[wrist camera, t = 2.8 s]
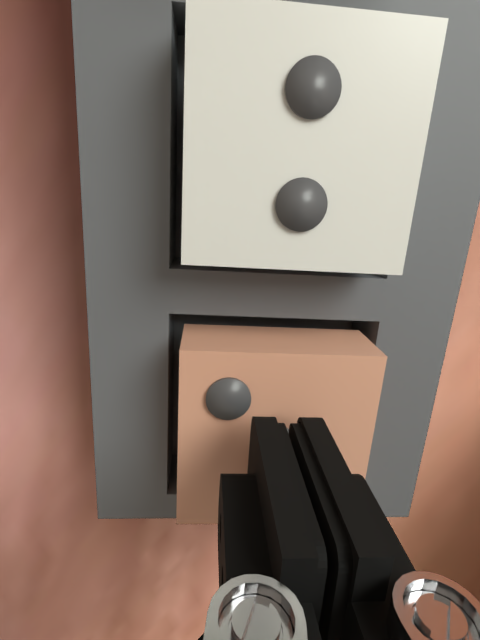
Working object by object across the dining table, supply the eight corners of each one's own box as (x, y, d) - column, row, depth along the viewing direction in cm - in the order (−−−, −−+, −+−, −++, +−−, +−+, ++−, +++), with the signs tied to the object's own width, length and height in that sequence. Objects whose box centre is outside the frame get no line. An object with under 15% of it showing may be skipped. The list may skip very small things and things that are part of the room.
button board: (91, -370, 9) (39, -626, 6) (512, -294, 10) (634, -489, 7) (118, 458, 15) (98, 518, 13) (373, 460, 16) (408, 516, 14)
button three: (184, 323, 11) (179, 352, 9) (358, 330, 12) (389, 358, 10) (181, 474, 13) (176, 527, 11) (336, 475, 13) (358, 525, 11)
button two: (190, 31, 9) (185, -13, 7) (401, 51, 10) (451, 16, 8) (185, 251, 11) (180, 265, 9) (369, 260, 11) (404, 276, 9)
